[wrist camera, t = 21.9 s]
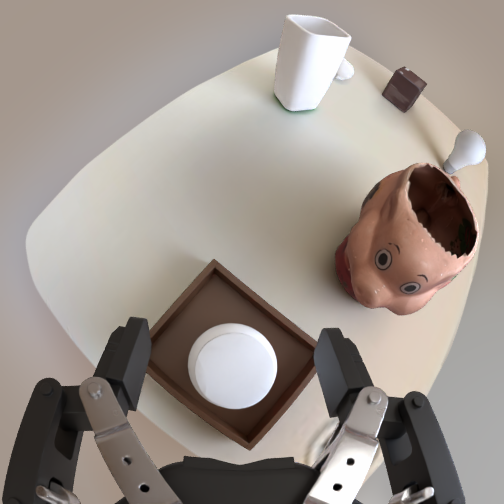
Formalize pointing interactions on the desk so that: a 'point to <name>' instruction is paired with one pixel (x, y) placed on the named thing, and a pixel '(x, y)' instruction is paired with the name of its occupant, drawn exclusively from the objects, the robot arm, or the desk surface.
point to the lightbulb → (465, 151)
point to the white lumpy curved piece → (344, 70)
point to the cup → (308, 60)
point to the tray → (222, 312)
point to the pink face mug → (408, 240)
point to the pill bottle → (232, 366)
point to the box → (404, 88)
